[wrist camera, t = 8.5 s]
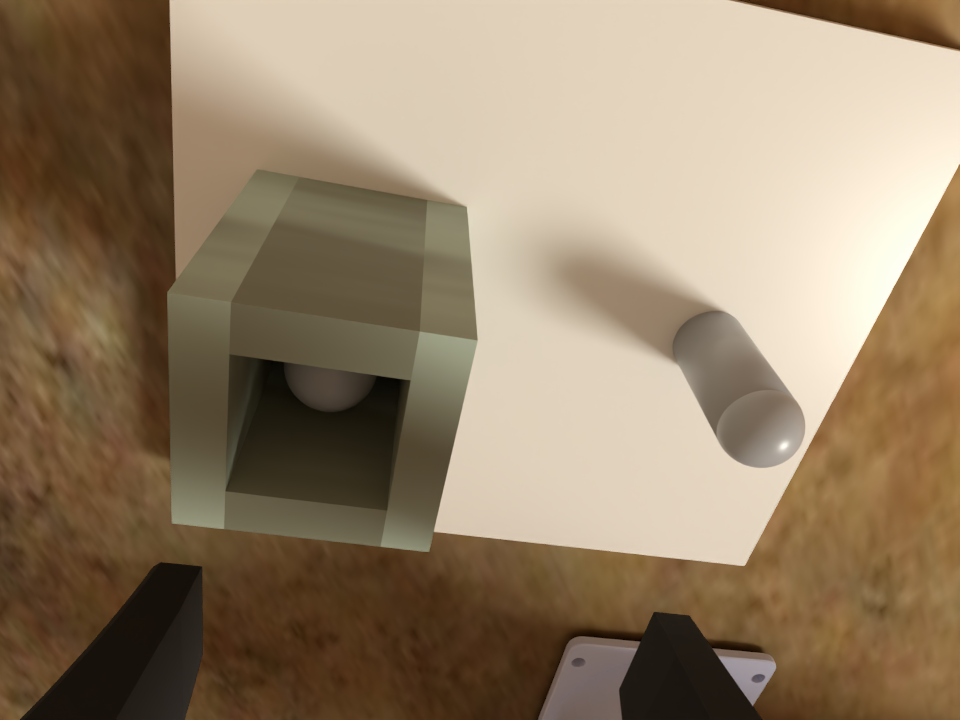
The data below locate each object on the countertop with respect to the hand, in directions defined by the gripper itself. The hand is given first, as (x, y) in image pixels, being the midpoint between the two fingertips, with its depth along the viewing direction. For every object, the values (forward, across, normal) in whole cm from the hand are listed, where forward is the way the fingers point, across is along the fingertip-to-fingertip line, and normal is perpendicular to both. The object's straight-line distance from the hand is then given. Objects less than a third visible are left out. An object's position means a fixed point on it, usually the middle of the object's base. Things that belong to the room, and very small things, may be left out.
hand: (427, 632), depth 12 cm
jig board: (+10, -2, -2) cm, 10 cm away
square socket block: (+8, +2, -2) cm, 9 cm away
